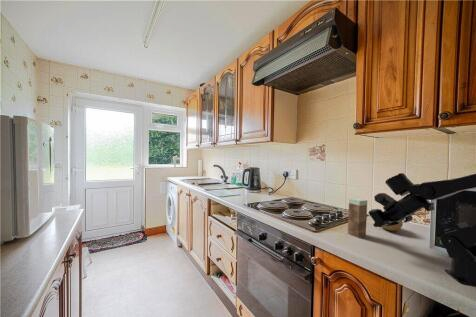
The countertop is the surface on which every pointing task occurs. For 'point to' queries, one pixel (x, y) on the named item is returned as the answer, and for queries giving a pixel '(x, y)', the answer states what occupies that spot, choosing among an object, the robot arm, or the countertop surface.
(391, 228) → the potato
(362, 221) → the walnut block
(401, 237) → the countertop surface
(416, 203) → the robot arm
